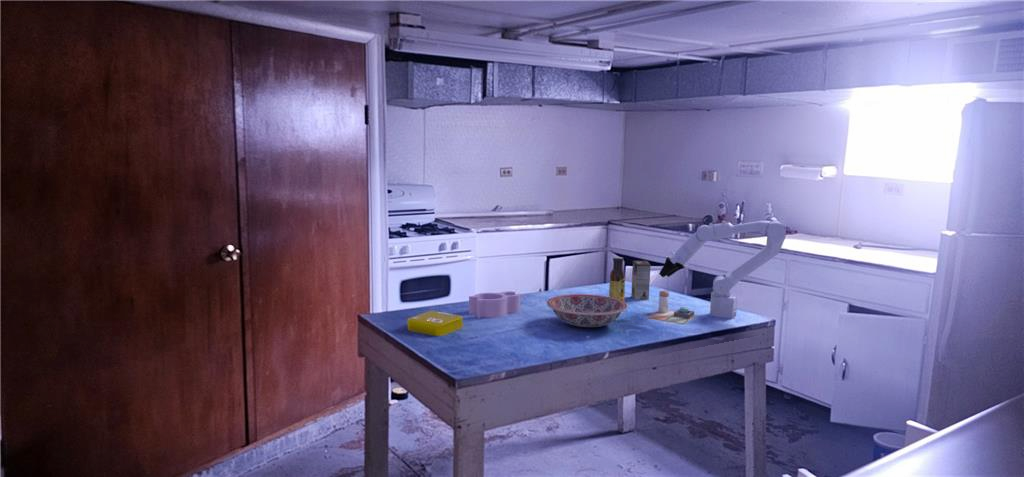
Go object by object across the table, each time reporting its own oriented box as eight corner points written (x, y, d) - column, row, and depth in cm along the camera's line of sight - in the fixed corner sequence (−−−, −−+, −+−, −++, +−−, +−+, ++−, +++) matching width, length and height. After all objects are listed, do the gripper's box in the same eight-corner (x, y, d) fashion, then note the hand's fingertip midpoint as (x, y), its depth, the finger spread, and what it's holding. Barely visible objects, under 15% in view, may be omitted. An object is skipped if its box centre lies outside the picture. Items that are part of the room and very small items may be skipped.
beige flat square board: (697, 317, 253) (697, 314, 253) (684, 327, 239) (684, 324, 239) (659, 311, 261) (659, 309, 260) (645, 320, 247) (645, 317, 247)
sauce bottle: (623, 308, 266) (625, 259, 263) (608, 307, 267) (610, 258, 264) (624, 304, 272) (626, 256, 269) (609, 303, 273) (611, 255, 270)
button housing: (694, 315, 252) (694, 311, 252) (689, 318, 247) (689, 314, 247) (678, 312, 256) (678, 308, 255) (673, 316, 250) (673, 312, 250)
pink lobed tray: (509, 306, 266) (509, 289, 265) (526, 313, 255) (526, 296, 254) (465, 312, 255) (465, 295, 254) (481, 320, 245) (481, 302, 244)
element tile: (465, 327, 236) (465, 314, 235) (439, 338, 223) (439, 324, 222) (431, 321, 243) (431, 308, 242) (405, 331, 230) (405, 317, 230)
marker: (669, 311, 257) (670, 291, 256) (666, 313, 254) (667, 293, 253) (660, 310, 259) (661, 290, 258) (657, 312, 256) (658, 292, 255)
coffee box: (630, 296, 286) (632, 260, 283) (645, 297, 285) (647, 260, 283) (634, 301, 276) (635, 264, 274) (649, 302, 276) (651, 264, 274)
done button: (689, 312, 252) (689, 307, 252) (686, 314, 249) (687, 309, 249) (681, 311, 253) (681, 306, 253) (678, 313, 251) (678, 308, 250)
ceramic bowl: (630, 318, 251) (631, 297, 250) (621, 339, 223) (622, 316, 222) (555, 311, 258) (555, 291, 257) (537, 331, 231) (538, 309, 230)
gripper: (684, 243, 262) (661, 268, 266) (675, 242, 249) (651, 268, 253) (697, 255, 259) (674, 280, 264) (689, 255, 247) (664, 281, 251)
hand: (663, 275), depth 258 cm, fingers open, 7 cm apart
